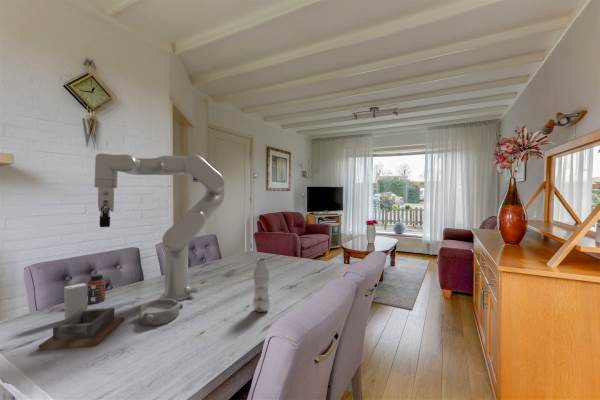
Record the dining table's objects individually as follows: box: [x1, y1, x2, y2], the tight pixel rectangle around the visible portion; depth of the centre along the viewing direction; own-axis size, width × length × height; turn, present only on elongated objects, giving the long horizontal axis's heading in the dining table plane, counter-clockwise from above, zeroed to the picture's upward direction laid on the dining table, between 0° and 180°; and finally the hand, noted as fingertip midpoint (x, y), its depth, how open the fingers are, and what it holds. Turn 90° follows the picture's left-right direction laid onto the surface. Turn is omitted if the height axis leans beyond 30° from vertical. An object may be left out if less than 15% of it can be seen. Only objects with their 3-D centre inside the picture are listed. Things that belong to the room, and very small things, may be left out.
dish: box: [138, 298, 184, 326], centre depth 99 cm, size 14×14×5 cm
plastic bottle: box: [252, 258, 271, 313], centre depth 105 cm, size 6×7×20 cm
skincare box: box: [63, 282, 88, 320], centre depth 98 cm, size 6×4×12 cm
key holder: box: [38, 307, 125, 351], centre depth 87 cm, size 15×17×6 cm
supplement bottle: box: [87, 273, 106, 304], centre depth 114 cm, size 6×6×11 cm
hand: (104, 225), depth 110 cm, fingers open, 9 cm apart
